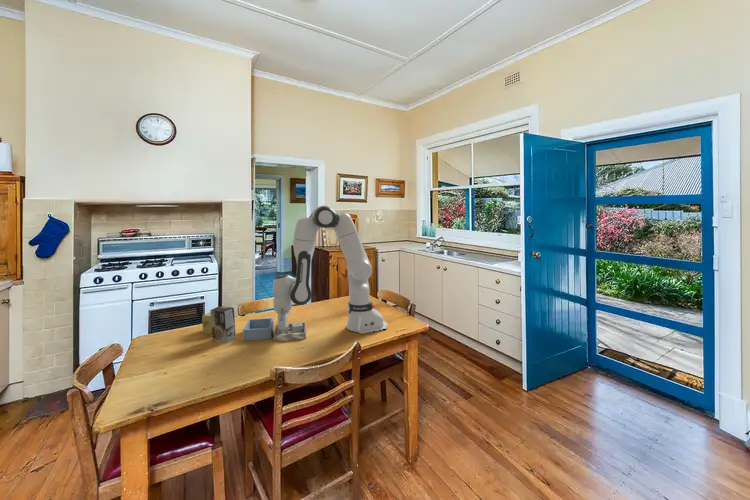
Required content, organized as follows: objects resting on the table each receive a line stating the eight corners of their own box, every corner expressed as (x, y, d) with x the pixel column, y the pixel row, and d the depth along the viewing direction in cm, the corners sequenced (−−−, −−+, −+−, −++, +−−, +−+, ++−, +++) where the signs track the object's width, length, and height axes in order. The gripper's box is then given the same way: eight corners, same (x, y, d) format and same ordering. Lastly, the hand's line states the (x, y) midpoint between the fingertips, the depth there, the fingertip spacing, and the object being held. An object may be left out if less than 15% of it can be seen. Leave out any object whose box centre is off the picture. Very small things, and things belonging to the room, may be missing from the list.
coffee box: (236, 338, 162) (234, 307, 159) (226, 343, 156) (224, 311, 153) (222, 335, 165) (220, 305, 162) (212, 340, 159) (209, 309, 156)
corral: (306, 327, 176) (306, 322, 175) (306, 338, 161) (305, 333, 161) (276, 329, 173) (276, 324, 172) (273, 341, 158) (273, 335, 158)
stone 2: (302, 331, 171) (301, 322, 170) (303, 334, 166) (302, 325, 165) (292, 332, 169) (292, 323, 168) (293, 336, 165) (292, 327, 164)
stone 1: (289, 332, 169) (288, 323, 168) (288, 336, 164) (288, 326, 164) (279, 333, 168) (278, 324, 168) (278, 337, 163) (278, 327, 163)
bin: (274, 327, 176) (273, 317, 175) (270, 338, 161) (270, 328, 160) (249, 329, 173) (248, 319, 172) (243, 340, 159) (242, 330, 158)
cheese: (220, 335, 165) (218, 317, 164) (201, 333, 167) (200, 315, 166) (232, 327, 175) (231, 310, 174) (215, 326, 177) (214, 308, 176)
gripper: (287, 312, 155) (288, 339, 157) (290, 299, 174) (291, 323, 176) (274, 313, 153) (275, 340, 155) (278, 300, 173) (279, 324, 175)
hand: (283, 331), depth 166 cm, fingers closed on stone 1, 5 cm apart
